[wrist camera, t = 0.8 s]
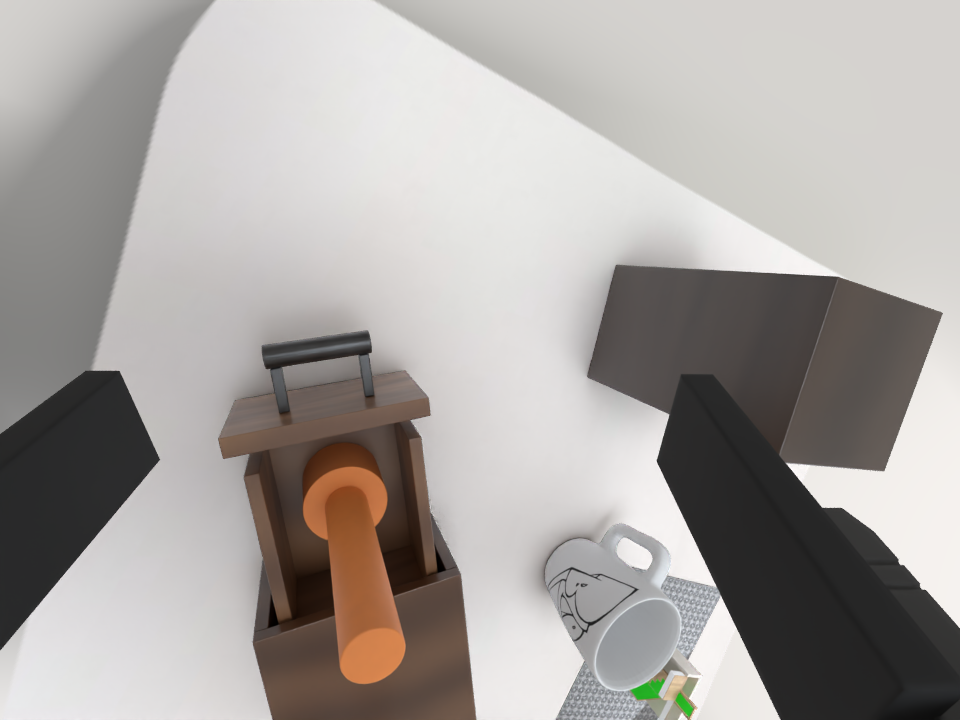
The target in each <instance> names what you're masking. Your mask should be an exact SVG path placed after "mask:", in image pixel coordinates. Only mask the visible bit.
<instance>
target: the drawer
mask: <svg viewBox="0 0 960 720" xmlns="http://www.w3.org/2000/svg"><path fill="white" fill-rule="evenodd" d="M371 352H372V346H371V339H370V335H369V332H368V330H366V331H359V332H352V333H345V334H338V335H331V336H324V337H317V338H310V339H303V340H296V341H289V342H282V343H275V344H268V345H262V356H263V361H264V365H265V368H266V369H270V372H271V377H272V382H273V386H274V391H275V393H273V394H268V395H262V396H256V397H251V398H245V399H239V400H235V401H234V404H233V406H232V408H231V411H230V413H229V415H228V418H227V420H226V422H225V425H224V427H223V429H222V431H221V434H220V436H219V438H218V440H219V444H220V448H221V452H222V456H223V459H226V458H231V457H236V456H240V455H245V454H249V458H248V462H247V466H246V470H245V474H244V481H245V485H246V489H247V493H248V498H249V502H250V506H251V510H252V514H253V519H254V523H255V527H256V531H257V535H258V540H259V544H260V548H261V552H262V556H263V561H264V565H265V569H266V573H267V577H268V582H269V586H270V590H271V594H272V598H273V603H274V607H275V611H276V615H277V619H278V624H279V625H280V624H283V623H286V622H289V621H292V620H295V619H298V618H301V617H304V616H307V615H310V614H314V613H317V612H320V611H323V610H326V609H329V608H332V607H334V599H333V588H332V577H331V567H330V556H329V545H328V540H326V539H323V538H321V537H319V536H317V535H316V534H315V533H313V532H312V531H311V530H310V529H309V527H308V526H307V524H306V522H305V520H304V516H303V483H302V481H303V473H304V470H305V467H306V465H307V463H308V462H309V460H310V459H311V458H312V457H313V456H314V455H315V454H316V453H317V452H318V451H320V450H321V449H323V448H325V447H327V446H329V445H332V444H336V443H353V444H357V445H360V446H362V447H364V448H365V449H367V450H368V451H369V452H370V453H371V454H372V455H373V456H374V458H375V460H376V462H377V465H378V468H379V470H380V473H381V476H382V479H383V482H384V484H385V487H386V490H387V496H388V501H387V507H386V510H385V513H384V515H383V517H382V519H381V520H380V522H379V523H378V524H377V525H376V526H375V530H376V534H377V538H378V541H379V545H380V549H381V553H382V557H383V560H384V564H385V568H386V572H387V575H388V579H389V583H390V587H391V588H394V587H397V586H400V585H403V584H406V583H409V582H412V581H415V580H418V579H421V578H424V577H428V576H431V575H434V574H437V573H438V571H437V563H436V555H435V547H434V538H433V530H432V522H431V514H430V506H429V498H428V490H427V481H426V473H425V465H424V457H423V449H422V441H421V436H420V435H419V433H418V432H417V430H416V429H415V427H414V425H413V424H412V422H411V421H410V420H412V419H417V418H421V417H426V416H430V415H431V414H430V406H429V398H428V396H427V395H426V394H425V393H424V392H423V391H422V389H421V388H420V387H419V386H418V385H417V384H416V382H415V381H414V380H413V379H412V378H411V377H410V375H409V374H408V373H407V372H406V371H400V372H394V373H388V374H382V375H377V376H372V373H371V367H370V360H369V355H368V353H371ZM354 355H358V358H359V365H360V371H361V378H359V379H354V380H348V381H342V382H336V383H331V384H325V385H319V386H314V387H308V388H302V389H296V390H291V391H286V386H285V381H284V376H283V371H282V367H285V366H291V365H298V364H304V363H310V362H317V361H323V360H329V359H336V358H342V357H348V356H354Z"/></svg>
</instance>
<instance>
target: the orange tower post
mask: <svg viewBox="0 0 960 720" xmlns="http://www.w3.org/2000/svg"><path fill="white" fill-rule="evenodd" d="M302 483H303V516H304V520H305V522H306V524H307V526H308V527H309V529H310V530H311V531H312V532H313V533H315V534H316V535H317V536H319V537H321V538H323V539H326V540H328V545H329V556H330V567H331V577H332V588H333V599H334V609H335V620H336V631H337V641H338V652H339V663H340V669H341V672H342V673H343V675H344V676H345V677H346V678H347V679H348V680H350V681H352V682H354V683H358V684H369V683H374V682H377V681H379V680H382V679H383V678H385V677H387V676H388V675H390V674H391V673H392V672H393V671H394V670H395V669H396V668H397V667H398V666H399V664H400V663H401V661H402V659H403V657H404V654H405V648H406V645H405V640H404V636H403V632H402V628H401V624H400V621H399V617H398V613H397V609H396V606H395V602H394V598H393V594H392V591H391V587H390V583H389V579H388V575H387V572H386V568H385V564H384V560H383V557H382V553H381V549H380V545H379V541H378V538H377V534H376V530H375V526H376V525H377V524H378V523H379V522H380V520H381V519H382V517H383V515H384V513H385V510H386V507H387V501H388V496H387V490H386V487H385V484H384V482H383V479H382V476H381V473H380V470H379V468H378V465H377V462H376V460H375V458H374V456H373V455H372V454H371V453H370V452H369V451H368V450H367V449H365V448H364V447H362V446H360V445H357V444H353V443H336V444H332V445H329V446H327V447H325V448H323V449H321V450H320V451H318V452H317V453H316V454H315V455H314V456H313V457H312V458H311V459H310V460H309V462H308V463H307V465H306V467H305V470H304V473H303V481H302Z"/></svg>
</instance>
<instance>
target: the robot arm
mask: <svg viewBox="0 0 960 720" xmlns="http://www.w3.org/2000/svg"><path fill="white" fill-rule="evenodd" d="M159 460H160V459H159V457H158V454H157V452H156V450H155V448H154V446H153V443H152V441H151V439H150V437H149V435H148V432H147V430H146V428H145V426H144V424H143V422H142V419H141V417H140V415H139V413H138V411H137V408H136V406H135V404H134V402H133V400H132V397H131V395H130V393H129V391H128V389H127V386H126V384H125V382H124V380H123V378H122V376H121V373H120V371H85V372H84V373H83V374H81V375H80V376H78V377H77V378H76V379H74V380H73V381H72V382H70V383H69V384H67V385H66V386H65V387H63V388H62V389H61V390H59V391H58V392H57V393H55V394H54V395H53V396H51V397H50V398H49V399H47V400H46V401H44V402H43V403H42V404H40V405H39V406H38V407H36V408H35V409H34V410H32V411H31V412H30V413H28V414H27V415H26V416H24V417H23V418H21V419H20V420H19V421H18V422H16V423H15V424H13V425H12V426H11V427H9V428H8V429H7V430H5V431H4V432H2V433H1V434H0V650H1V649H2V648H3V647H4V645H5V644H6V643H7V642H8V641H9V639H10V638H11V637H12V636H13V635H14V633H15V632H16V631H17V630H18V629H19V627H20V626H21V625H22V624H23V623H24V621H25V620H26V619H27V618H28V617H29V615H30V614H31V613H32V612H33V611H34V610H35V608H36V607H37V606H38V605H39V604H40V602H41V601H42V600H43V599H44V598H45V596H46V595H47V594H48V593H49V592H50V590H51V589H52V588H53V587H54V586H55V584H56V583H57V582H58V581H59V580H60V578H61V577H62V576H63V575H64V574H65V573H66V571H67V570H68V569H69V568H70V567H71V565H72V564H73V563H74V562H75V561H76V559H77V558H78V557H79V556H80V555H81V553H82V552H83V551H84V550H85V549H86V547H87V546H88V545H89V544H90V543H91V541H92V540H93V539H94V538H95V537H96V535H97V534H98V533H99V532H100V531H101V530H102V528H103V527H104V526H105V525H106V524H107V522H108V521H109V520H110V519H111V518H112V516H113V515H114V514H115V513H116V512H117V510H118V509H119V508H120V507H121V506H122V504H123V503H124V502H125V501H126V500H127V498H128V497H129V496H130V495H131V494H132V493H133V491H134V490H135V489H136V488H137V487H138V485H139V484H140V483H141V482H142V481H143V479H144V478H145V477H146V476H147V475H148V473H149V472H150V471H151V470H152V469H153V467H154V466H155V465H156V464H157V463H158V461H159ZM657 463H658V465H659V467H660V469H661V471H662V473H663V476H664V478H665V480H666V482H667V484H668V486H669V488H670V490H671V492H672V494H673V496H674V498H675V501H676V503H677V505H678V507H679V509H680V511H681V513H682V515H683V517H684V519H685V521H686V523H687V526H688V528H689V530H690V532H691V534H692V536H693V538H694V540H695V542H696V544H697V546H698V548H699V551H700V553H701V555H702V557H703V559H704V561H705V563H706V565H707V567H708V569H709V571H710V574H711V576H712V578H713V580H714V582H715V584H716V586H717V588H718V590H719V592H720V594H721V596H722V599H723V601H724V603H725V605H726V607H727V609H728V611H729V613H730V615H731V617H732V619H733V621H734V624H735V626H736V628H737V630H738V632H739V634H740V636H741V638H742V640H743V642H744V644H745V646H746V648H747V650H748V653H749V655H750V657H751V659H752V661H753V663H754V665H755V667H756V669H757V671H758V673H759V676H760V678H761V680H762V682H763V684H764V686H765V688H766V690H767V692H768V694H769V697H770V699H771V700H772V703H773V705H774V707H775V709H776V711H777V713H778V715H779V717H780V719H781V720H960V628H959V627H958V626H957V625H956V623H955V622H954V621H953V620H952V619H951V618H950V617H949V616H948V614H947V613H946V612H945V611H944V610H943V609H942V608H941V607H940V605H939V604H938V603H937V602H936V601H935V600H934V599H933V598H932V597H931V595H930V594H929V593H928V592H927V591H926V590H922V589H921V588H920V583H919V582H918V581H917V580H916V579H915V577H914V576H913V575H912V574H911V573H910V572H909V571H908V570H907V568H906V567H905V566H904V565H900V564H899V562H898V558H897V557H896V556H895V555H894V554H893V553H892V551H891V550H890V549H889V548H888V547H887V546H886V545H885V544H884V543H883V541H882V540H881V539H880V538H879V537H878V536H877V535H876V533H875V532H874V531H872V530H871V529H870V528H868V527H867V526H866V525H864V524H863V523H861V522H860V521H859V520H857V519H856V518H855V517H853V516H852V515H850V514H849V513H848V512H846V511H845V510H844V509H842V508H822V507H821V506H820V505H819V503H818V502H817V501H816V500H815V498H814V497H813V496H812V495H811V494H810V492H809V491H808V490H807V489H806V488H805V486H804V485H803V484H802V483H801V481H800V480H799V479H798V478H797V476H796V475H795V474H794V473H793V472H792V470H791V469H790V468H789V467H788V465H787V464H786V463H785V462H784V461H783V459H782V458H781V457H780V456H779V454H778V453H777V452H776V451H775V450H774V448H773V447H772V446H771V445H770V443H769V442H768V441H767V440H766V438H765V437H764V436H763V435H762V434H761V432H760V431H759V430H758V429H757V427H756V426H755V425H754V424H753V423H752V421H751V420H750V419H749V418H748V416H747V415H746V414H745V413H744V412H743V410H742V409H741V408H740V407H739V405H738V404H737V403H736V402H735V401H734V399H733V398H732V397H731V396H730V394H729V393H728V392H727V391H726V390H725V388H724V387H723V386H722V385H721V383H720V382H719V381H718V380H717V379H716V377H715V376H714V375H713V374H681V376H680V379H679V383H678V386H677V390H676V394H675V397H674V401H673V404H672V408H671V412H670V415H669V419H668V422H667V426H666V429H665V433H664V437H663V440H662V444H661V447H660V451H659V455H658V458H657Z"/></svg>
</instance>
